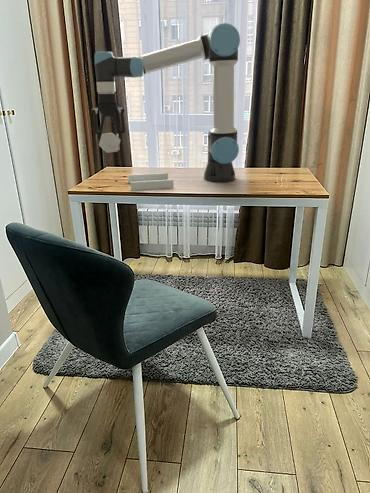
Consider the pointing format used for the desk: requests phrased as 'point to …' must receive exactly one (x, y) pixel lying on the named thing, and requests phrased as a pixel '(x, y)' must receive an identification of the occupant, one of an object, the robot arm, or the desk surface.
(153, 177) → the grey u-shaped frame
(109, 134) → the die
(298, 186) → the desk surface
